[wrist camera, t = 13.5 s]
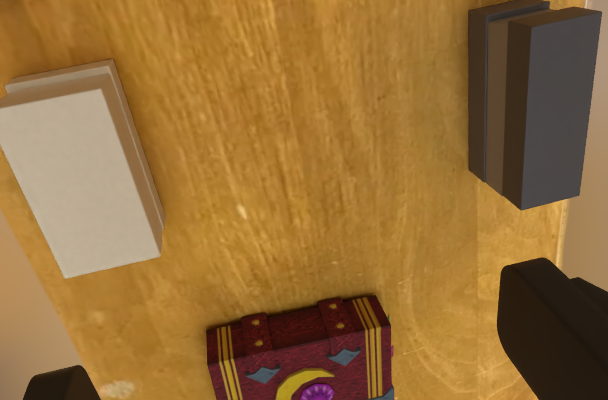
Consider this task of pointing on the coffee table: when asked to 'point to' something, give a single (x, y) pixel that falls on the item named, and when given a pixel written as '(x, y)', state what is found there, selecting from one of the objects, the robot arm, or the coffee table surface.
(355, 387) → the decorative book
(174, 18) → the coffee table surface
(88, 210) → the thin cream book
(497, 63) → the grey books
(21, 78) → the beige box
